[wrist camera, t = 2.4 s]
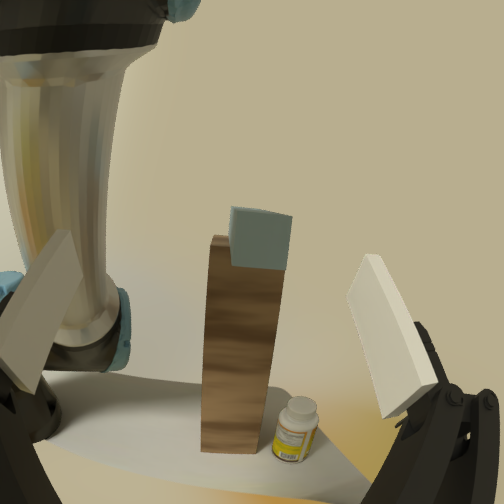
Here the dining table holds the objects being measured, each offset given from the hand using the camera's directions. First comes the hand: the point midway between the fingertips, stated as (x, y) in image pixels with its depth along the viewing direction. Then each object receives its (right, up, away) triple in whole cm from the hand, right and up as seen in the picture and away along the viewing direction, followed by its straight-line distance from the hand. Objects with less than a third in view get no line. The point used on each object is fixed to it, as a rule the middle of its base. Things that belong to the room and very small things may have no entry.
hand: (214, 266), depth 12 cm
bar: (+1, +1, +20) cm, 20 cm away
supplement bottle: (+7, -30, +24) cm, 39 cm away
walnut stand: (-2, -28, +28) cm, 39 cm away
